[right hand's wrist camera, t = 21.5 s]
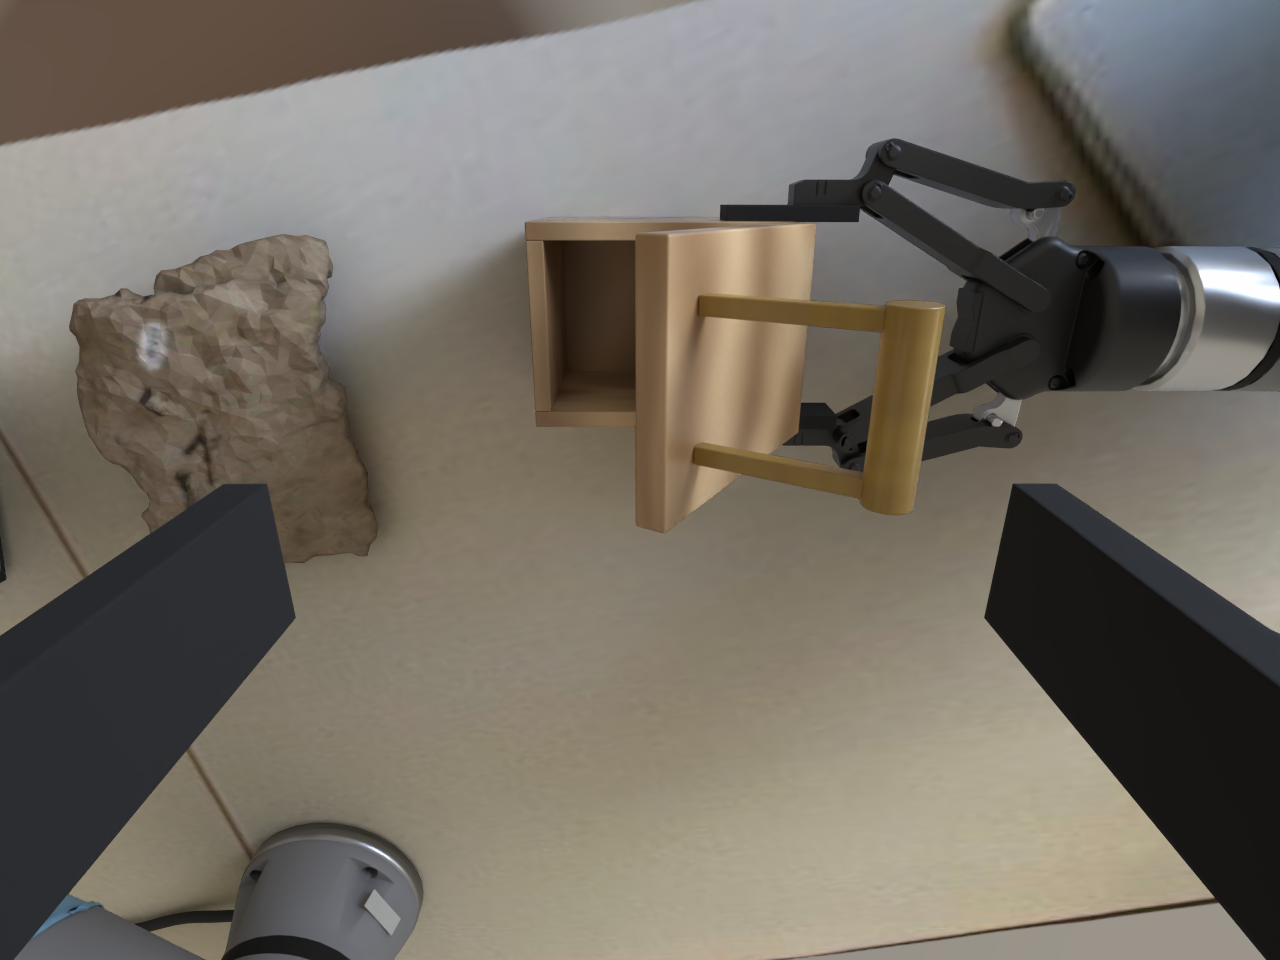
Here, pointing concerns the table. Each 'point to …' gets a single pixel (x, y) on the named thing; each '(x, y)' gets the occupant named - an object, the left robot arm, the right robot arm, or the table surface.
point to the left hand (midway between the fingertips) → (718, 319)
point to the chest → (589, 314)
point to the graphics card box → (2, 565)
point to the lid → (760, 371)
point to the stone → (228, 392)
